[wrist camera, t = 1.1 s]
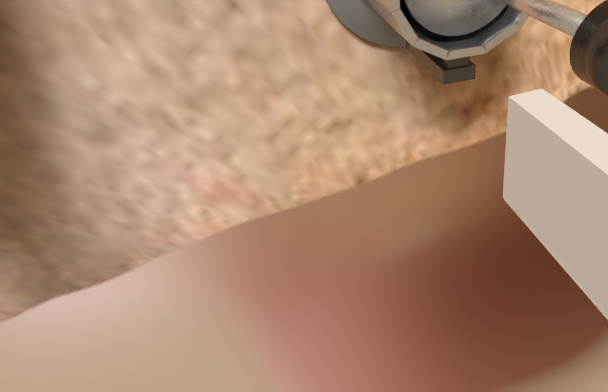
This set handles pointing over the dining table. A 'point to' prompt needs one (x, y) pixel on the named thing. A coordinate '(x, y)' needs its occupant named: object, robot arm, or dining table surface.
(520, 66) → the dining table surface
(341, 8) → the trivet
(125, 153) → the dining table surface
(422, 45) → the faceted metal cup
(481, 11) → the plunger
